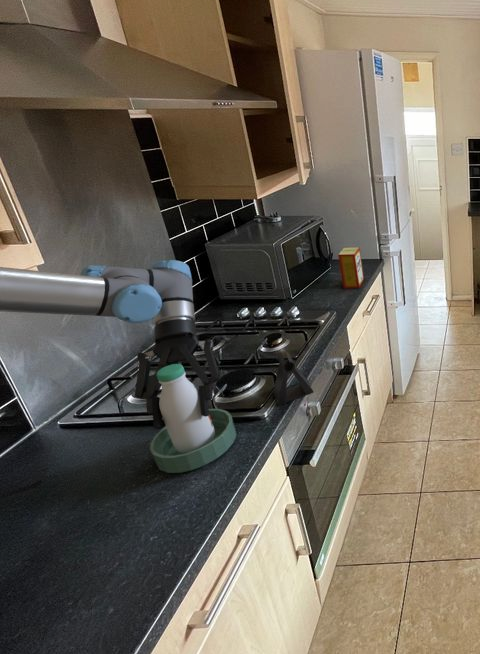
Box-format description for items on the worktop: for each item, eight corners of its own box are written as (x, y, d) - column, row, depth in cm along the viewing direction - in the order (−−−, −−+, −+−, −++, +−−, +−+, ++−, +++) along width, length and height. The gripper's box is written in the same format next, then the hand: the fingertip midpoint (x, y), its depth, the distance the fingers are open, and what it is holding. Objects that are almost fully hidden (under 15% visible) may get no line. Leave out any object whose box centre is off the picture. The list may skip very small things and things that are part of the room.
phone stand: (277, 405, 110) (268, 368, 106) (273, 394, 115) (264, 357, 110) (313, 392, 116) (305, 356, 111) (308, 382, 120) (300, 346, 115)
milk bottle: (216, 444, 95) (191, 372, 88) (174, 459, 91) (144, 385, 84) (215, 424, 101) (192, 355, 94) (176, 437, 97) (148, 366, 90)
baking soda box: (359, 288, 181) (354, 253, 175) (343, 288, 180) (338, 253, 174) (364, 279, 189) (359, 246, 183) (349, 280, 189) (344, 246, 183)
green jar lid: (144, 482, 88) (136, 465, 86) (174, 432, 102) (167, 416, 100) (225, 465, 92) (220, 448, 90) (244, 419, 106) (239, 403, 104)
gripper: (230, 319, 105) (241, 409, 98) (126, 338, 96) (129, 438, 89) (222, 309, 98) (233, 404, 91) (110, 328, 90) (112, 436, 83)
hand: (182, 421), depth 90 cm, fingers closed on milk bottle, 8 cm apart
